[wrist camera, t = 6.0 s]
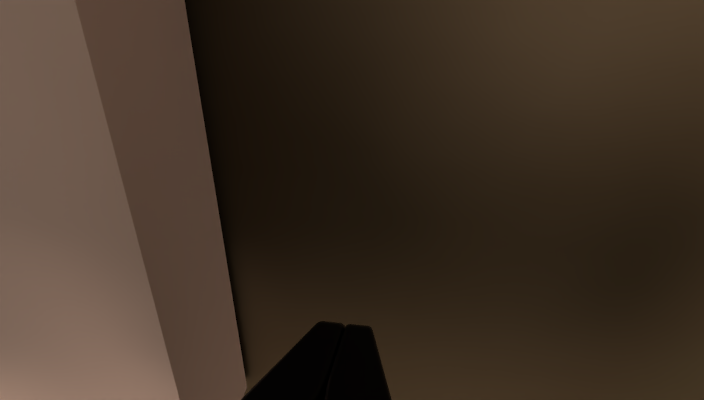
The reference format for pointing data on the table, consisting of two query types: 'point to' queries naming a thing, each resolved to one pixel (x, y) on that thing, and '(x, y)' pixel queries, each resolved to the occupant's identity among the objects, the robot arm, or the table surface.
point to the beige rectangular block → (109, 209)
